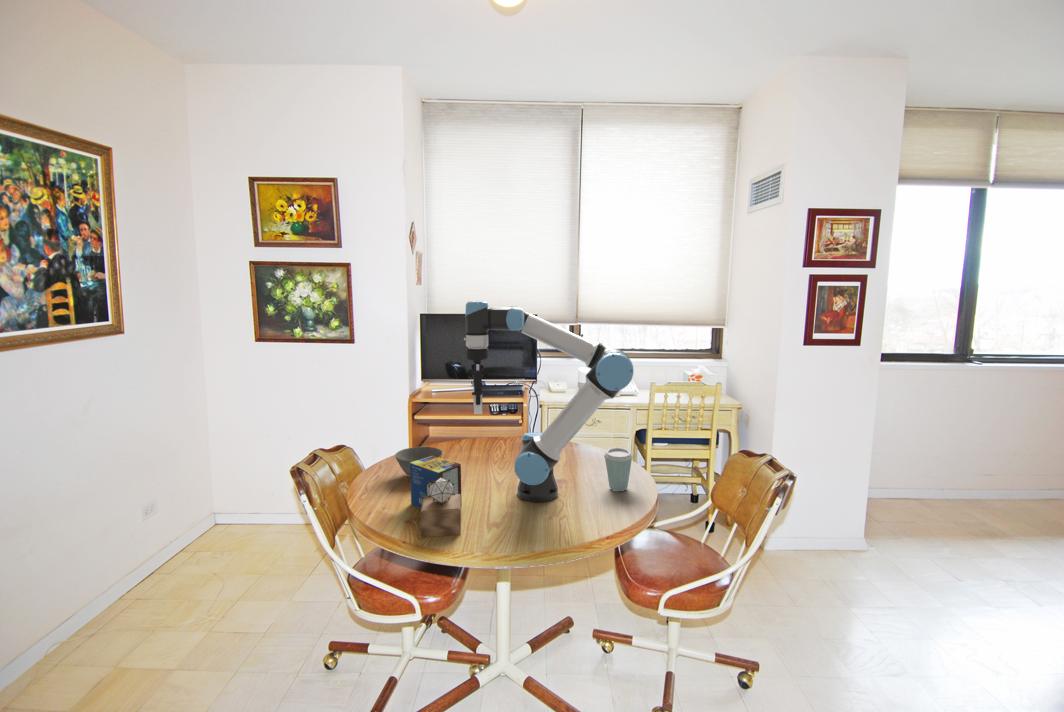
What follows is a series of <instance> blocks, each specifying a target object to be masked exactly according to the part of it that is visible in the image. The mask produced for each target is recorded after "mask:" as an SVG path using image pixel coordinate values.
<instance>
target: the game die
mask: <svg viewBox="0 0 1064 712" xmlns="http://www.w3.org/2000/svg"><path fill="white" fill-rule="evenodd" d="M441 477H442V476H441V475H440V478H439V479H438V480H437V481H433V482H434V483H433V484H432V485H431V486H429V485H428V487H430V496H429V497H428V498H430V497H432V498H433V501H434V500H436V501H438V502H440V503H442V504H441V505H442V506H443V503H444V502H445V501H446V500H447V499H448V500H450V497H451V496H452V495H455V494H453V487H452V485H454V483H452V484H451V483H450V482H449V481H450V479H449V480H445V479H443V478H441Z"/></svg>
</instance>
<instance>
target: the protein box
mask: <svg viewBox="0 0 1064 712" xmlns="http://www.w3.org/2000/svg"><path fill="white" fill-rule="evenodd" d="M440 475H441V476H442V477H441V478H443V479H445V480H449V479H450V481H449V482H450V483H451V484H452V483H454V485H452V487H453V494H461V495H462V464H461V463H458V462H455V461H452V460H449V459H445V458H443V457H441V458H439V457H436V456H433V455H432V456H429V457H426V458H423V459H420V460H417V461H413V462H410V477H409V478H410V505H412V506H414V507H416V508H419V509H421V508H422V503H423V498H424V496H430V487H428V485H429V486H431V485H432V484H433V483H434V482H433V481H437V480H438V479H439V478H440ZM461 507H463V505H462V500H461Z"/></svg>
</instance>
